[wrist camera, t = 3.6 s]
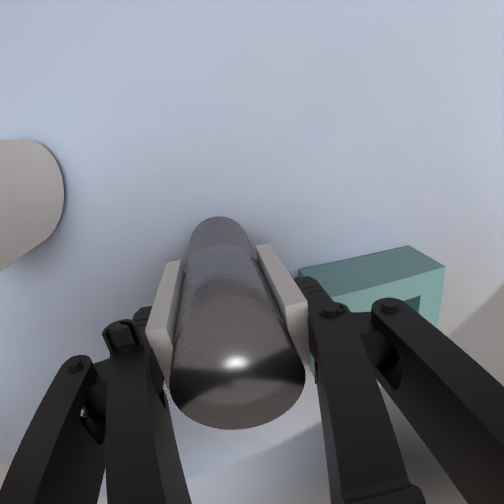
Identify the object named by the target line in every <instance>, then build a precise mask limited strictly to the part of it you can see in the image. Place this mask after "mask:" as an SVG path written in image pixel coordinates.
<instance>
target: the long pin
mask: <svg viewBox="0 0 504 504" xmlns="http://www.w3.org/2000/svg"><path fill="white" fill-rule="evenodd" d="M304 384H305V369H304V366H303V363H302V361H301V358H300V356H299V354H298V352H297V349H296V347H295V345H294V343H293V340H292V338H291V336H290V334H289V331H288V329H287V327H286V324H285V322H284V320H283V318H282V315H281V313H280V311H279V309H278V306H277V304H276V302H275V300H274V297H273V295H272V293H271V290H270V288H269V286H268V284H267V281H266V279H265V277H264V275H263V272H262V270H261V268H260V266H259V263H258V261H257V259H256V256H255V254H254V252H253V250H252V247H251V245H250V243H249V241H248V238H247V236H246V234H245V232H244V230H243V229H242V227H241V226H240V225H239V224H238V223H237V222H235V221H234V220H232V219H229V218H226V217H212V218H209V219H207V220H205V221H203V222H202V223H200V224H199V225H198V226H197V227H196V229H195V230H194V232H193V234H192V237H191V241H190V246H189V251H188V257H187V263H186V268H185V274H184V280H183V286H182V292H181V298H180V305H179V311H178V318H177V325H176V332H175V339H174V346H173V354H172V362H171V370H170V379H169V389H170V394H171V396H172V399H173V401H174V403H175V404H176V406H177V407H178V408H179V409H180V410H181V411H182V412H183V413H184V414H185V415H186V416H188V417H189V418H191V419H192V420H194V421H196V422H198V423H201V424H203V425H206V426H209V427H213V428H218V429H230V430H235V429H246V428H252V427H256V426H259V425H263V424H265V423H268V422H270V421H272V420H274V419H276V418H278V417H279V416H281V415H282V414H284V413H285V412H286V411H288V410H289V409H290V408H291V407H292V406H293V405H294V404H295V402H296V401H297V400H298V398H299V397H300V395H301V393H302V391H303V388H304Z"/></svg>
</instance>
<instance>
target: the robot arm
mask: <svg viewBox="0 0 504 504" xmlns="http://www.w3.org/2000/svg"><path fill="white" fill-rule="evenodd" d="M256 252H257V259H258V263H259V266H260V268H261V270H262V272H263V275H264V277H265V279H266V281H267V284H268V286H269V288H270V290H271V293H272V295H273V297H274V300H275V302H276V304H277V306H278V309H279V311H280V313H281V315H282V318H283V320H284V322H285V324H286V327H287V329H288V331H289V334H290V336H291V338H292V340H293V343H294V345H295V347H296V349H297V352H298V354H299V356H300V358H301V361H302V363H303V365H306V364H310V363H311V354H312V356H313V358H314V368H315V384H317V390H318V397H319V404H320V411H321V419H322V426H323V434H324V442H325V451H326V459H327V468H328V477H329V487H330V498H331V504H426V502H425V498H424V496H423V493H422V491H421V490H420V488H419V487H418V486H415V485H412V484H411V483H410V481H409V479H408V476H407V473H406V469H405V466H404V462H403V459H402V456H401V452H400V449H399V446H398V443H397V439H396V436H395V433H394V430H393V427H392V424H391V421H390V418H389V415H388V412H387V409H386V406H385V403H384V400H383V397H382V394H381V391H380V388H379V386H378V383H377V380H378V382H379V383H380V384H381V385H382V387H383V388H384V389H385V391H386V392H387V393H388V395H389V396H390V397H391V399H392V400H393V401H394V403H395V404H396V405H397V407H398V408H399V409H400V411H401V412H402V413H403V415H404V416H405V417H406V419H407V420H408V421H409V423H410V424H411V425H412V427H413V428H414V430H415V431H416V432H417V434H418V435H419V436H420V438H421V439H422V440H423V442H424V443H425V444H426V446H427V447H428V448H429V450H430V451H431V452H432V454H433V455H434V457H435V458H436V460H437V461H438V462H439V464H440V465H441V466H442V468H443V469H444V471H445V472H446V473H447V475H448V476H449V478H450V479H451V480H452V482H453V483H454V484H455V486H456V487H457V489H458V490H459V492H460V493H461V494H462V496H463V497H464V499H465V500H466V501H467V503H468V504H504V387H503V386H502V385H501V384H500V383H499V382H498V381H497V380H496V379H495V378H493V376H491V375H490V374H489V373H488V372H487V371H486V370H485V369H484V368H482V367H481V366H480V365H479V364H478V363H477V362H476V361H475V360H473V359H472V358H471V357H470V356H469V355H468V354H467V353H465V352H464V351H463V350H462V349H461V348H459V347H458V346H457V345H456V344H455V343H454V342H453V341H451V340H450V339H449V338H448V337H447V336H445V335H444V334H443V333H442V332H441V331H439V330H438V329H437V328H436V327H435V326H433V325H432V324H431V323H430V322H429V321H427V320H426V319H425V318H424V317H422V316H421V315H420V314H419V313H418V312H416V311H415V310H414V309H413V308H411V307H410V306H409V305H408V304H406V303H405V302H404V301H402V300H400V299H396V298H392V297H390V298H389V297H386V298H381V299H379V300H376V301H375V302H374V303H373V304H372V308H371V312H350V310H349V308H348V307H347V306H346V305H344V304H342V303H339V302H334V301H333V300H332V299H331V297H330V296H329V295H328V294H327V292H326V291H325V290H324V289H323V287H322V286H321V285H320V284H319V282H318V281H317V280H316V279H314V278H312V277H310V276H305V277H300V278H295V279H293V278H292V277H291V275H290V273H289V272H288V270H287V269H286V267H285V266H284V264H283V263H282V261H281V260H280V258H279V256H278V255H277V253H276V252H275V250H274V249H273V247H272V246H271V244H270V243H267V244H261V245H256ZM183 280H184V271H183V267H182V263H181V260H176V261H170V262H167V263H166V266H165V269H164V272H163V275H162V278H161V281H160V284H159V287H158V290H157V293H156V296H155V300H154V303H153V306H149V307H143V308H140V309H139V310H138V311H137V312H136V313H135V314H134V317H133V319H132V320H128V319H125V320H119V321H116V322H114V323H112V324H110V325H108V326H107V327H106V328H105V329H104V330H103V332H102V336H103V338H104V340H105V342H106V345H107V347H108V349H109V351H110V358H109V359H106V360H104V361H101V362H97V363H94V364H93V363H92V361H91V359H90V357H88V356H86V355H78V356H73V357H71V358H69V359H68V360H67V361H66V362H64V364H63V365H62V366H61V368H60V369H59V371H58V373H57V375H56V376H55V378H54V380H53V382H52V383H51V385H50V387H49V389H48V391H47V392H46V394H45V396H44V398H43V400H42V402H41V403H40V405H39V407H38V409H37V411H36V413H35V415H34V417H33V419H32V421H31V423H30V425H29V427H28V429H27V431H26V433H25V435H24V437H23V439H22V441H21V443H20V445H19V448H18V450H17V452H16V454H15V456H14V459H13V461H12V463H11V466H10V468H9V470H8V473H7V475H6V477H5V480H4V482H3V485H2V487H1V490H0V504H97V502H98V497H99V492H100V488H101V483H102V479H103V475H104V471H105V467H106V486H107V501H108V504H192V503H191V499H190V496H189V493H188V489H187V485H186V481H185V477H184V473H183V470H182V466H181V462H180V457H179V453H178V449H177V444H176V440H175V435H174V431H173V426H172V421H171V416H170V411H169V406H168V400H167V396H166V394H165V392H164V389H163V383H164V380H165V383H166V385H167V387H168V389H169V379H170V370H171V362H172V354H173V346H174V339H175V332H176V325H177V318H178V311H179V305H180V298H181V292H182V286H183ZM376 379H377V380H376ZM81 409H83V410H84V414H83V416H82V417H81V416H80V414H81Z"/></svg>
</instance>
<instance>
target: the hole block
mask: <svg viewBox="0 0 504 504" xmlns="http://www.w3.org/2000/svg"><path fill="white" fill-rule="evenodd" d="M299 271H300V277H305V276H310V277H312V278H314V279H316V280H317V281H318V282H319V284H320V285H321V286H322V287H323V289H324V290H325V291H326V292H327V294H328V295H329V296H330V297H331V299H332V300H333V301H334V302H339V303H342V304H344V305H346V306H347V307H348V308H349V310H350V312H368V311H371V308H372V304H373V303H374V302H375V301H376V300H379V299H381V298H386V297H389V298H390V297H392V298H396V299H400V300H402V301H404V302H405V303H406V304H408V305H409V306H410V307H411V308H413V309H414V310H415V311H416V312H418V313H419V314H420V315H421V316H422V317H424V318H425V319H426V320H427V321H429V322H430V323H431V324H432V325H433V326H435V327H437V321H438V316H439V310H440V304H441V297H442V290H443V282H444V274H445V266H444V265H442V264H440V263H438V262H437V261H435V260H433V259H432V258H430V257H428V256H426V255H425V254H423V253H421V252H419V251H418V250H416V249H414V248H412V247H410V246H405V247H401V248H396V249H392V250H388V251H383V252H379V253H374V254H369V255H365V256H360V257H356V258H351V259H346V260H342V261H337V262H332V263H327V264H323V265H318V266H313V267H308V268H303V269H299ZM308 365H309V367H310V369H311V372H312V374H313V376H314V378H315V368H314V358H313V356H312V354H311V363H310V364H308ZM376 380H377V379H376ZM377 381H378V380H377Z"/></svg>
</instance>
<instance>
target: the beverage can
mask: <svg viewBox="0 0 504 504" xmlns="http://www.w3.org/2000/svg"><path fill="white" fill-rule="evenodd" d="M63 203H64V186H63V179H62V175H61V172H60V169H59V166H58V164H57V162H56V160H55V159H54V157H53V156H52V154H51V153H50V152H49V151H48V150H47V149H46V148H45V147H44V146H42V145H41V144H39V143H37V142H35V141H31V140H0V272H1V271H2V270H3V269H5V268H6V267H7V266H9V265H10V264H12V263H13V262H14V261H16V260H17V259H19V258H20V257H21V256H23V255H24V254H26V253H27V252H29V251H30V250H32V249H33V248H35V247H36V246H37V245H39V244H40V243H42V242H43V241H45V240H46V239H47V238H48V237H49V236H50V235H51V234H52V233H53V231H54V230H55V228H56V226H57V224H58V222H59V220H60V217H61V213H62V209H63Z"/></svg>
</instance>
